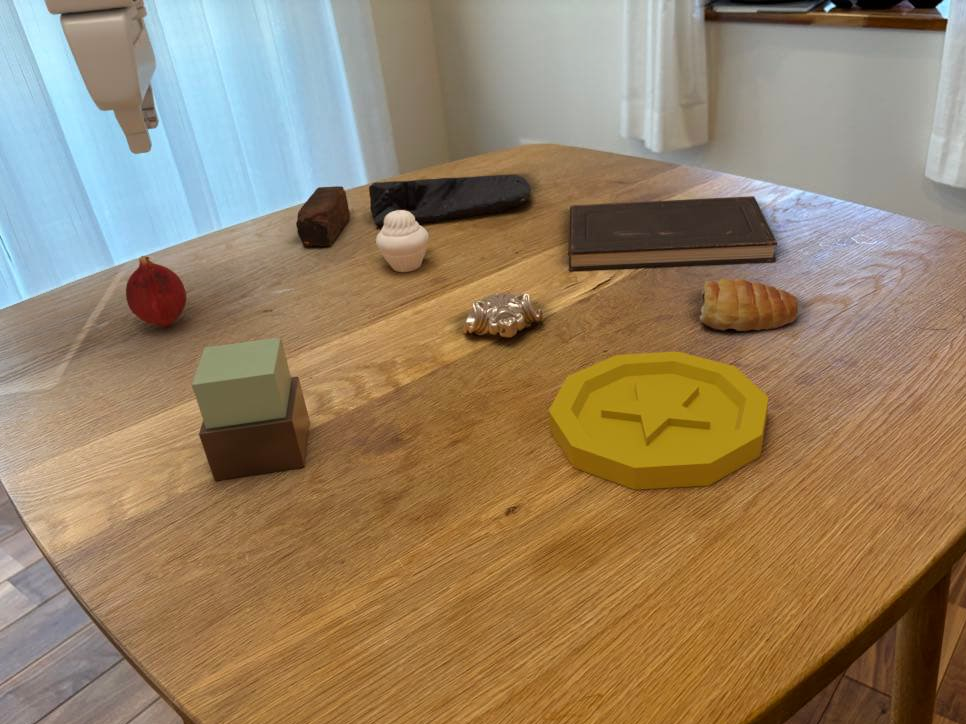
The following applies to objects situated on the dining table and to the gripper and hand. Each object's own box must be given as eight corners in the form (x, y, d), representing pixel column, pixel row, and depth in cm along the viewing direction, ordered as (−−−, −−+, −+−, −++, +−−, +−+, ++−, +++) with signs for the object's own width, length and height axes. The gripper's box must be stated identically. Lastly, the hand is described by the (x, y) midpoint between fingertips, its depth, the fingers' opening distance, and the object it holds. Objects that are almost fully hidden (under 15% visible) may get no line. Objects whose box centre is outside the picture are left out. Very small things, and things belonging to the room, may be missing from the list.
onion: (205, 324, 92) (183, 254, 88) (154, 344, 89) (129, 273, 84) (179, 310, 96) (157, 242, 91) (129, 329, 92) (104, 260, 88)
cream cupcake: (419, 279, 98) (410, 220, 94) (371, 275, 100) (360, 218, 96) (441, 258, 103) (433, 201, 99) (395, 255, 105) (386, 199, 101)
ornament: (470, 354, 82) (466, 320, 80) (459, 323, 88) (455, 291, 86) (551, 340, 83) (549, 306, 81) (535, 311, 89) (533, 278, 87)
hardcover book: (775, 261, 95) (777, 242, 94) (568, 271, 97) (567, 252, 96) (752, 212, 109) (753, 194, 108) (571, 221, 111) (570, 203, 109)
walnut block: (214, 481, 67) (198, 434, 65) (226, 432, 73) (212, 387, 71) (304, 467, 68) (292, 420, 66) (309, 420, 74) (298, 375, 72)
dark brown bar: (323, 219, 118) (316, 186, 115) (351, 218, 117) (345, 184, 115) (300, 249, 109) (292, 214, 106) (331, 248, 108) (323, 212, 106)
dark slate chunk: (533, 218, 112) (530, 182, 110) (365, 231, 113) (359, 196, 110) (530, 181, 125) (527, 149, 123) (379, 193, 126) (374, 161, 123)
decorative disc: (511, 422, 72) (508, 402, 71) (666, 352, 80) (666, 332, 79) (647, 520, 60) (647, 498, 59) (812, 426, 68) (815, 405, 67)
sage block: (206, 429, 66) (191, 384, 63) (217, 390, 71) (204, 347, 68) (285, 417, 66) (273, 373, 64) (291, 379, 71) (280, 336, 69)
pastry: (792, 303, 87) (796, 268, 84) (801, 335, 81) (805, 298, 79) (698, 304, 88) (699, 269, 86) (700, 335, 82) (701, 299, 80)
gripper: (75, -28, 82) (122, 119, 90) (36, -7, 65) (98, 172, 73) (144, -35, 84) (185, 111, 91) (124, -16, 67) (176, 161, 74)
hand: (146, 139), depth 82 cm, fingers open, 8 cm apart
